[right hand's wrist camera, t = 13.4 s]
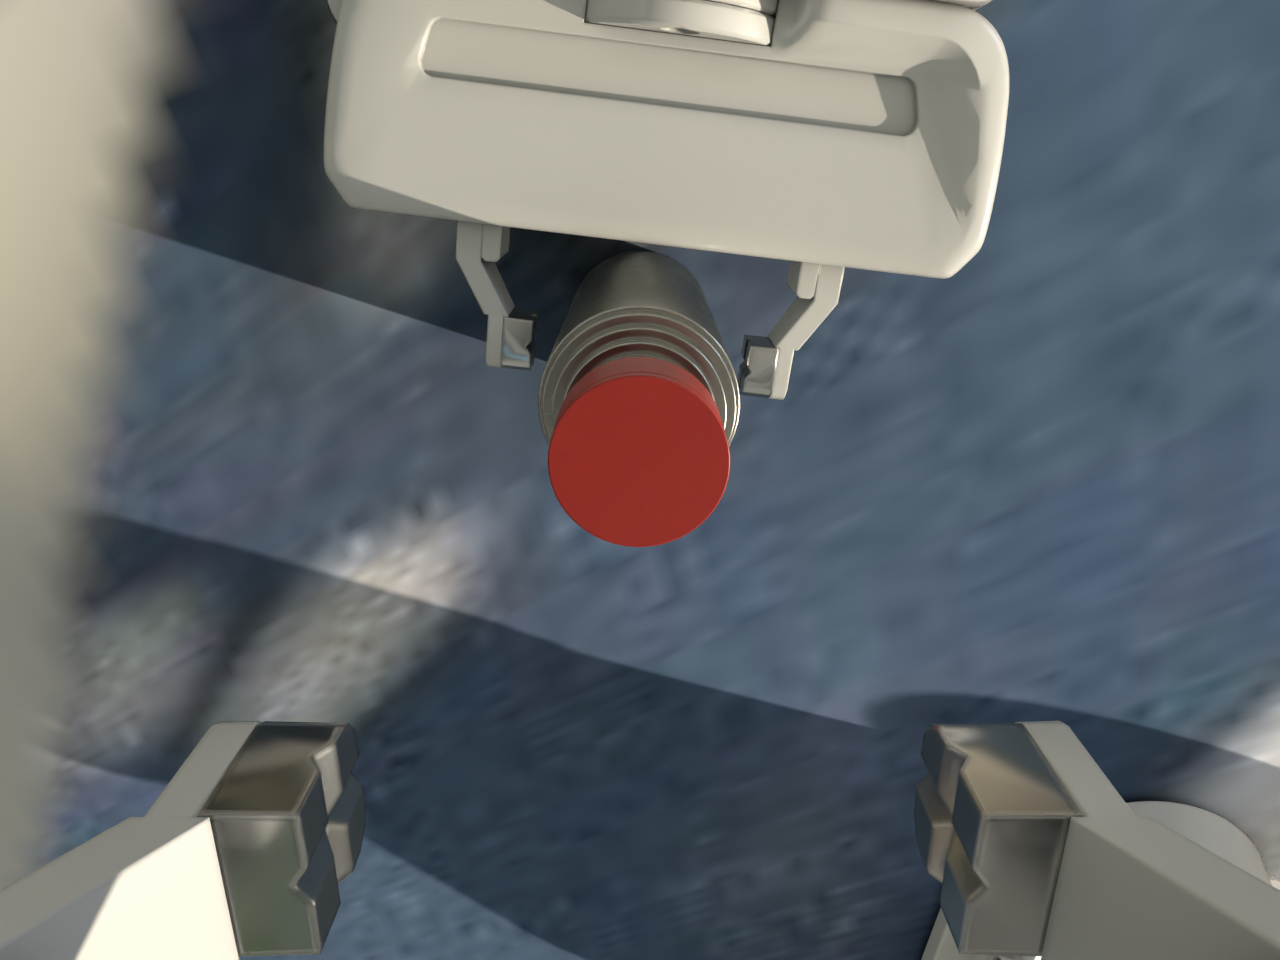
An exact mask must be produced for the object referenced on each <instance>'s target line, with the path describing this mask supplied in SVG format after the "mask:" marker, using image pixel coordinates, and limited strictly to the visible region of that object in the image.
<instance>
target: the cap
mask: <svg viewBox="0 0 1280 960" xmlns="http://www.w3.org/2000/svg"><path fill="white" fill-rule="evenodd" d="M548 471H549V477H550V481H551V485H552V488H553V490H554V493H555V495H556V497H557V499H558V501H559V503H560V505H561V506H562V507H563V509H564V510H565V512H566V513H567V514H568V515H569V516H570V517H571V518H572V520H573V521H574V522H575V523H577V524H578V525H579V526H580V527H582V528H583V529H584V530H586V531H587V532H589V533H590V534H592V535H594V536H596V537H598V538H600V539H602V540H605V541H608V542H611V543H614V544H618V545H623V546H632V547H647V546H654V545H660V544H664V543H667V542H671V541H673V540H676V539H678V538H680V537H682V536H684V535H686V534H688V533H689V532H691V531H692V530H694V529H695V528H696V527H698V526H699V525H700V524H701V523H703V522H704V521H705V520H706V519H707V518H708V517H709V515H710V514H711V513H712V512H713V510H714V509H715V508H716V506H717V505H718V503H719V501H720V499H721V498H722V495H723V493H724V491H725V488H726V485H727V481H728V478H729V471H730V451H729V444H728V440H727V437H726V434H725V430H724V427H723V423H722V420H721V416H720V413H719V410H718V408H717V405H716V403H715V401H714V399H713V398H712V396H711V394H710V393H709V391H708V390H707V389H706V388H705V386H704V385H703V384H702V383H701V382H700V381H699V380H698V379H697V378H696V377H695V376H693V375H692V374H691V373H689V372H688V371H686V370H685V369H683V368H681V367H679V366H677V365H675V364H673V363H670V362H668V361H665V360H661V359H657V358H651V357H627V358H621V359H617V360H614V361H610V362H607V363H605V364H603V365H601V366H599V367H597V368H595V369H593V370H592V371H590V372H589V373H587V374H586V375H585V376H584V377H582V378H581V379H580V380H579V381H578V382H577V383H576V384H575V385H574V386H573V388H572V389H571V390H570V392H569V393H568V395H567V396H566V397H565V399H564V401H563V403H562V405H561V408H560V410H559V413H558V416H557V420H556V423H555V426H554V430H553V433H552V437H551V440H550V445H549V450H548Z"/></svg>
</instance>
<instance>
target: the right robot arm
mask: <svg viewBox="0 0 1280 960" xmlns="http://www.w3.org/2000/svg"><path fill="white" fill-rule="evenodd" d="M358 755H359V750H358V745H357V739H356V733H355V729H354V728H353V727H352V726H351V725H350V724H349V723H315V722H268V721H265V722H263V723H262V722H259V721H221V722H219V723H217V724H214V725H212V726H211V727H210V728H209V729H208V731H207V732H206V733H205V735H204V736H203V737H202V739H201V740H200V741H199V743H198V744H197V746H196V747H195V748H194V750H193V751H192V752H191V754H190V755H189V756H188V758H187V759H186V760H185V762H184V763H183V764H182V766H181V767H180V769H179V770H178V771H177V773H176V774H175V775H174V777H173V778H172V779H171V781H170V782H169V783H168V785H167V786H166V788H165V789H164V790H163V792H162V793H161V794H160V796H159V797H158V798H157V800H156V801H155V802H154V804H153V805H152V807H151V808H150V809H149V811H148V812H147V813H146V815H145V816H144V817H129V818H128V819H126V820H124V821H122V822H120V823H119V824H117V825H115V826H113V827H112V828H110V829H108V830H106V831H104V832H103V833H101V834H99V835H97V836H96V837H94V838H92V839H90V840H89V841H87V842H85V843H83V844H81V845H80V846H78V847H76V848H74V849H73V850H71V851H69V852H67V853H65V854H64V855H62V856H60V857H58V858H57V859H55V860H53V861H51V862H49V863H48V864H46V865H44V866H42V867H41V868H39V869H37V870H35V871H34V872H32V873H30V874H28V875H26V876H25V877H23V878H21V879H19V880H18V881H16V882H14V883H12V884H10V885H9V886H7V887H5V888H3V889H2V890H0V960H239V956H273V955H307V954H321V952H322V949H323V947H324V944H325V942H326V939H327V936H328V934H329V931H330V929H331V926H332V924H333V921H334V919H335V916H336V914H337V911H338V909H339V906H340V904H341V902H340V895H339V888H338V883H339V882H340V881H342V880H343V879H344V878H345V877H347V876H348V875H349V874H351V873H352V872H353V871H354V868H355V865H356V862H357V860H358V857H359V854H360V851H361V846H362V841H363V835H364V829H365V808H366V804H365V795H364V787H363V785H362V784H361V783H360V782H359V781H358V780H357V779H356V778H355V777H354V776H353V775H352V774H351V771H352V769H353V767H354V764H355V762H356V760H357V758H358ZM921 755H922V758H923V760H924V762H925V764H926V767H927V769H928V771H929V774H928V775H927V776H926V777H925V778H924V779H923V780H922V781H921V782H920V783H919V784H918V785H917V787H916V797H915V807H914V815H915V830H916V838H917V842H918V846H919V851H920V854H921V857H922V860H923V862H924V865H925V868H926V871H927V872H928V873H929V874H931V875H932V876H933V877H935V878H936V879H937V880H938V881H940V882H941V883H942V888H941V895H940V902H939V904H940V906H941V908H940V910H939V913H938V916H937V918H936V921H935V924H934V926H933V929H932V932H931V934H930V937H929V940H928V942H927V945H926V948H925V950H924V953H923V956H922V958H921V960H1280V890H1278V889H1276V888H1274V887H1273V886H1272V883H1271V881H1270V879H1269V877H1268V874H1267V872H1266V869H1265V866H1264V864H1263V861H1262V859H1261V856H1260V854H1259V852H1258V851H1257V849H1256V847H1255V846H1254V844H1253V843H1252V842H1251V840H1250V839H1249V838H1248V837H1247V836H1246V835H1245V834H1244V833H1243V832H1242V831H1241V830H1240V829H1239V828H1237V827H1236V826H1235V825H1233V824H1232V823H1230V822H1229V821H1227V820H1226V819H1224V818H1222V817H1220V816H1218V815H1216V814H1214V813H1212V812H1209V811H1207V810H1204V809H1201V808H1198V807H1194V806H1190V805H1186V804H1180V803H1174V802H1164V801H1138V802H1127V803H1125V801H1124V800H1123V799H1122V797H1121V796H1120V795H1119V793H1118V792H1117V791H1116V789H1115V788H1114V786H1113V785H1112V784H1111V782H1110V781H1109V780H1108V778H1107V777H1106V776H1105V774H1104V773H1103V772H1102V770H1101V769H1100V768H1099V766H1098V765H1097V764H1096V762H1095V761H1094V760H1093V758H1092V757H1091V755H1090V754H1089V753H1088V751H1087V750H1086V749H1085V747H1084V746H1083V745H1082V743H1081V742H1080V741H1079V739H1078V738H1077V737H1076V735H1075V734H1074V733H1073V731H1072V730H1071V729H1070V727H1069V726H1068V725H1066V724H1064V723H1063V722H1061V721H1034V722H1016V723H1001V724H928V726H927V729H926V731H925V733H924V736H923V743H922V750H921Z"/></svg>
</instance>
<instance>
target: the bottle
mask: <svg viewBox="0 0 1280 960" xmlns="http://www.w3.org/2000/svg"><path fill="white" fill-rule="evenodd" d="M627 357H651V358H657V359H661V360H665V361H668V362H670V363H673V364H675V365H677V366H679V367H681V368H683V369H685V370H686V371H688V372H689V373H691V374H692V375H693V376H695V377H696V378H697V379H698V380H699V381H700V382H701V383H702V384H703V385H704V386H705V388H706V389H707V390H708V391H709V393H710V394H711V396H712V398H713V399H714V401H715V403H716V405H717V408H718V410H719V413H720V416H721V420H722V423H723V427H724V430H725V434H726V437H727V440H728V444H729V446H730V444H731V442H732V439H733V437H734V435H735V432H736V428H737V424H738V420H739V413H740V392H739V385H738V381H737V377H736V374H735V370H734V368H733V365H732V363H731V360H730V358H729V356H728V353H727V351H726V348H725V346H724V343H723V341H722V338H721V336H720V333H719V331H718V328H717V326H716V323H715V321H714V319H713V316H712V314H711V311H710V309H709V306H708V304H707V301H706V299H705V296H704V294H703V292H702V290H701V287H700V286H699V284H698V282H697V281H696V279H695V278H694V277H693V276H692V274H691V273H690V272H689V271H688V270H687V269H686V268H685V267H684V266H682V265H681V264H679V263H678V262H677V261H675V260H673V259H671V258H669V257H667V256H665V255H662V254H659V253H655V252H651V251H628V252H623V253H619V254H616V255H613V256H611V257H609V258H607V259H605V260H603V261H602V262H600V263H599V264H597V265H596V266H595V267H594V268H593V269H592V270H590V272H589V273H588V274H587V275H586V276H585V277H584V279H583V280H582V282H581V283H580V285H579V286H578V288H577V291H576V293H575V295H574V297H573V300H572V302H571V305H570V307H569V310H568V312H567V314H566V317H565V319H564V322H563V324H562V327H561V329H560V331H559V334H558V336H557V339H556V341H555V344H554V346H553V349H552V351H551V353H550V356H549V358H548V361H547V363H546V366H545V368H544V371H543V374H542V377H541V382H540V387H539V394H538V410H539V419H540V423H541V428H542V431H543V434H544V436H545V439H546V442H547V444H548V445H550V440H551V437H552V433H553V430H554V426H555V423H556V420H557V416H558V413H559V410H560V408H561V405H562V403H563V401H564V399H565V397H566V396H567V395H568V393H569V392H570V390H571V389H572V388H573V386H574V385H575V384H576V383H577V382H578V381H579V380H580V379H581V378H582V377H584V376H585V375H586V374H587V373H589V372H590V371H592V370H593V369H595V368H597V367H599V366H601V365H603V364H605V363H607V362H610V361H614V360H617V359H621V358H627Z"/></svg>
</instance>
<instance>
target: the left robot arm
mask: <svg viewBox="0 0 1280 960" xmlns="http://www.w3.org/2000/svg"><path fill="white" fill-rule="evenodd" d="M990 1H992V0H327V3H328V7H329V10H330V12H331V15H332V17H333V19H334V21H335V22H336V24H337V26H336V32H335V38H334V44H333V50H332V57H331V65H330V72H329V80H328V90H327V101H326V113H325V127H324V156H323V159H324V169H325V172H326V175H327V177H328V178H329V180H330V181H331V183H332V184H333V186H334V187H335V188H336V190H337V191H338V193H339V194H340V195H341V197H342V198H343V200H344V201H345V202H346V203H347V205H349V206H350V207H352V208H356V209H363V210H371V211H379V212H387V213H396V214H404V215H413V216H421V217H429V218H438V219H446V220H455V221H457V238H456V260H457V262H458V264H459V266H460V268H461V270H462V272H463V273H464V275H465V277H466V279H467V281H468V283H469V285H470V287H471V289H472V291H473V293H474V295H475V297H476V299H477V301H478V303H479V305H480V307H481V309H482V311H483V313H484V314H485V315H488V327H487V345H486V365H487V366H490V367H496V368H508V369H519V370H529V371H530V370H531V366H533V363H534V359H535V350H536V342H535V340H534V338H533V337H534V335H535V333H536V331H537V324H538V311H534V310H527V309H519V308H514V307H515V306H514V303H513V301H512V299H511V297H510V295H509V292H508V290H507V288H506V286H505V284H504V282H503V279H502V277H501V275H500V273H499V271H498V268H497V266H496V264H495V262H497V261H498V260H499V259H500V258H501V257H503V256H504V255H505V254H506V253H507V252H508V251H509V239H510V227H513V228H522V229H530V230H538V231H547V232H555V233H564V234H572V235H580V236H589V237H597V238H605V239H614V240H622V241H631V242H639V243H647V244H656V245H664V246H673V247H681V248H689V249H698V250H706V251H714V252H723V253H731V254H740V255H748V256H756V257H765V258H773V259H782V260H790V264H789V270H788V277H787V283H786V284H787V286H788V287H789V288H790V289H791V290H792V291H793V292H794V293H795V294H796V295H797V296H798V297H797V298H796V300H795V301H794V302H793V303H792V305H791V306H790V307H789V309H788V310H787V311H786V313H785V314H784V315H783V316H782V318H781V319H780V320H779V322H778V323H777V324H776V325H775V327H774V328H773V329H772V331H771V332H770V333H769V335H768V337H761V336H751V335H744V341H743V347H742V356H743V358H744V360H745V361H744V362H743V363H742V364H741V365H740V366H739V372H738V385H739V389H740V393H741V395H748V396H756V397H764V398H773V399H781V400H783V399H784V397H785V395H786V392H787V387H788V382H789V376H790V371H791V365H792V359H793V354H794V350H799V349H800V347H801V346H802V345H803V344H804V343H805V342H806V340H807V339H808V338H809V337H810V336H811V334H812V333H813V332H814V331H815V330H816V329H817V327H818V326H819V325H820V324H821V323H822V321H823V320H824V319H825V318H826V317H827V316H828V314H829V313H830V312H831V311H832V310H833V308H834V307H835V306H836V305H837V304H838V300H839V295H840V290H841V285H842V280H843V275H844V270H845V267H849V268H857V269H865V270H874V271H882V272H891V273H899V274H907V275H916V276H924V277H933V278H942V279H944V278H949V277H951V276H953V275H954V274H955V273H957V272H958V271H959V270H960V269H961V268H962V267H963V266H964V265H965V264H966V263H967V262H969V261H970V260H971V259H972V258H973V257H974V256H975V255H976V254H977V253H978V251H979V250H980V248H981V247H982V244H983V242H984V239H985V236H986V232H987V228H988V225H989V221H990V216H991V212H992V208H993V203H994V198H995V193H996V188H997V183H998V177H999V171H1000V165H1001V158H1002V151H1003V144H1004V137H1005V129H1006V119H1007V110H1008V100H1009V67H1008V59H1007V55H1006V51H1005V48H1004V45H1003V42H1002V40H1001V38H1000V36H999V34H998V33H997V31H996V29H995V28H994V27H993V26H992V24H991V23H990V22H989V21H988V20H987V19H986V18H984V17H983V16H981V15H980V14H979V13H977V12H975V11H974V10H976V9H978V8H980V7H982V6H984V5H985V4H987V3H989V2H990Z"/></svg>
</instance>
